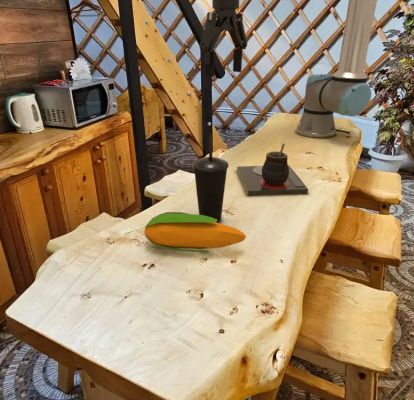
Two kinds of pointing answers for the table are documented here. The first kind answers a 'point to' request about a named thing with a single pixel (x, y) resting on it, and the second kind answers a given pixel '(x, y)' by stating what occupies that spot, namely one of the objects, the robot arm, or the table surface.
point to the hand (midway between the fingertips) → (224, 74)
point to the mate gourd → (275, 168)
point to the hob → (259, 187)
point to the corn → (190, 232)
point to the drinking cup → (210, 184)
